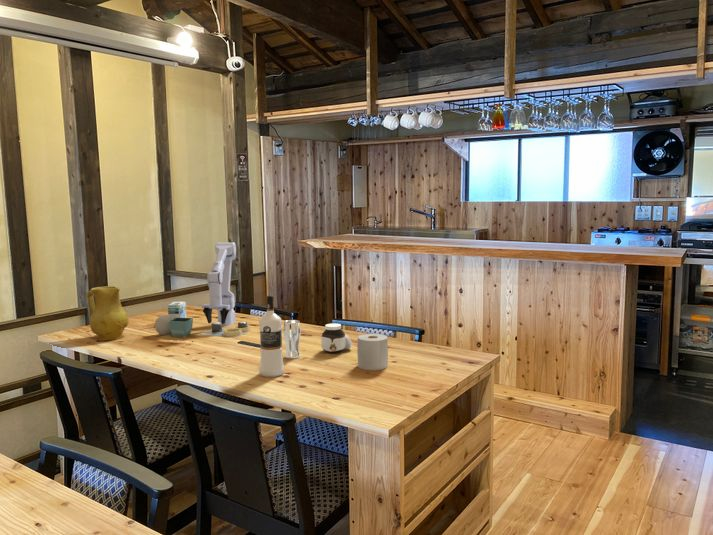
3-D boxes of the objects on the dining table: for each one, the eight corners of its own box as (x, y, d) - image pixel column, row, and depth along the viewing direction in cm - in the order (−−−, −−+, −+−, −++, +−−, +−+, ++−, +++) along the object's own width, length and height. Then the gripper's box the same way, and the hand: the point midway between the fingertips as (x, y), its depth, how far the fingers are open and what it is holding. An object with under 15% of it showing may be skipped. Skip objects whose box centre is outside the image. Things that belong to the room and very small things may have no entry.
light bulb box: (180, 324, 304) (180, 304, 303) (168, 324, 305) (167, 304, 303) (187, 320, 315) (186, 301, 314) (174, 320, 315) (173, 301, 314)
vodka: (288, 371, 220) (286, 294, 216) (276, 378, 211) (274, 298, 208) (267, 369, 223) (265, 293, 220) (255, 376, 215) (252, 297, 211)
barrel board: (217, 329, 292) (217, 319, 291) (253, 331, 286) (252, 321, 285) (199, 337, 276) (199, 326, 276) (237, 339, 270) (236, 328, 270)
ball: (168, 338, 276) (167, 317, 274) (150, 336, 279) (149, 316, 278) (180, 333, 285) (179, 313, 284) (163, 331, 288) (163, 312, 287)
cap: (215, 329, 287) (214, 321, 286) (224, 330, 285) (223, 322, 285) (209, 331, 282) (209, 323, 281) (218, 332, 280) (218, 324, 280)
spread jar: (319, 352, 246) (318, 326, 245) (329, 346, 257) (329, 320, 255) (345, 355, 242) (345, 328, 241) (354, 348, 253) (354, 322, 251)
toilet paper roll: (358, 361, 232) (357, 333, 231) (387, 361, 232) (387, 333, 231) (357, 370, 220) (356, 341, 219) (388, 370, 220) (388, 340, 219)
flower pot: (194, 335, 280) (193, 317, 279) (187, 340, 271) (186, 321, 270) (176, 335, 281) (175, 317, 280) (169, 339, 272) (168, 321, 271)
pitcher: (97, 343, 265) (94, 289, 264) (85, 338, 279) (82, 287, 278) (134, 338, 276) (132, 286, 275) (121, 333, 290) (118, 284, 289)
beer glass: (287, 359, 236) (286, 324, 234) (281, 355, 242) (280, 320, 240) (303, 357, 239) (302, 322, 237) (297, 353, 245) (296, 319, 243)
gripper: (198, 296, 280) (199, 324, 281) (224, 298, 275) (225, 325, 277) (205, 294, 286) (207, 321, 288) (231, 295, 282) (232, 322, 284)
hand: (216, 323), depth 283 cm, fingers open, 7 cm apart
